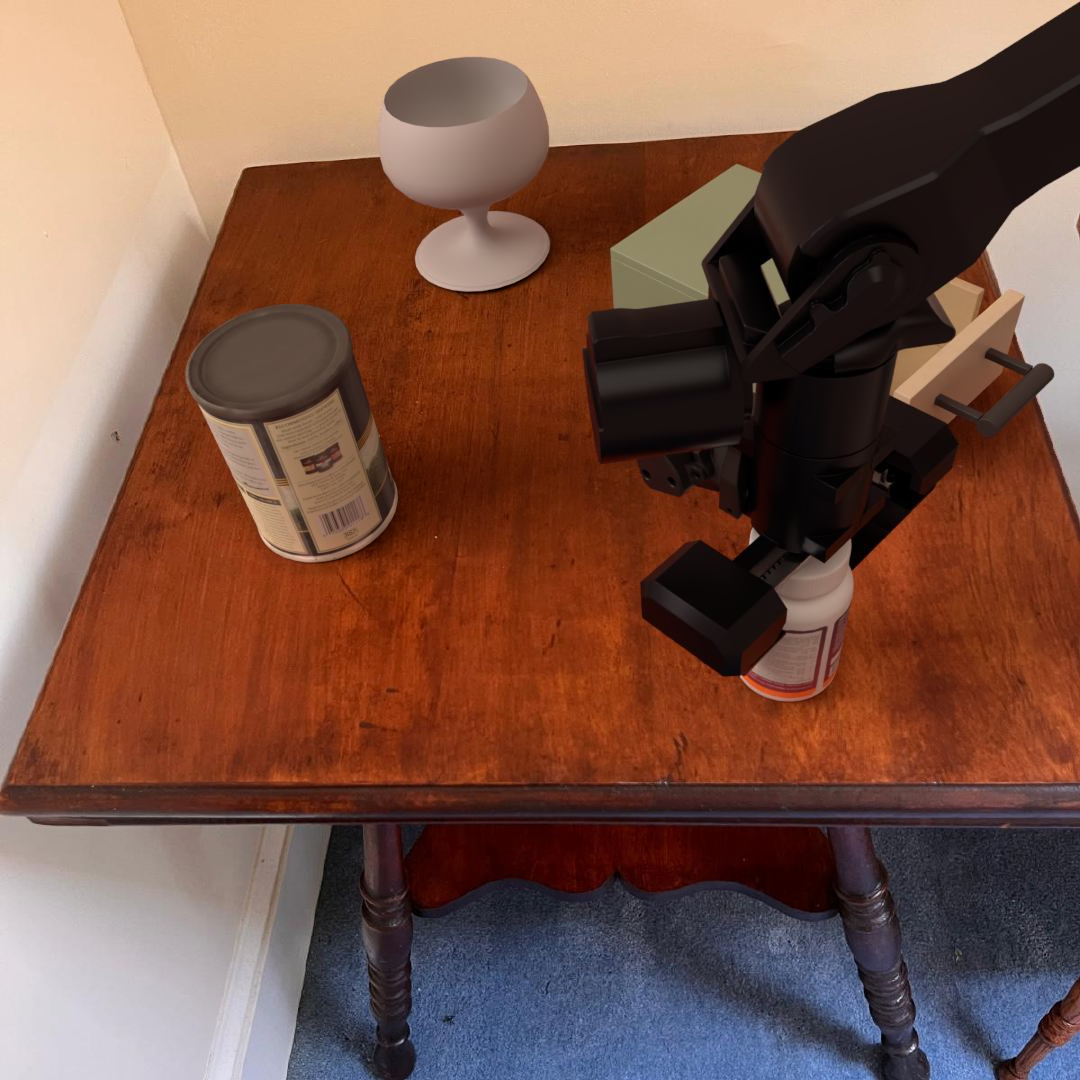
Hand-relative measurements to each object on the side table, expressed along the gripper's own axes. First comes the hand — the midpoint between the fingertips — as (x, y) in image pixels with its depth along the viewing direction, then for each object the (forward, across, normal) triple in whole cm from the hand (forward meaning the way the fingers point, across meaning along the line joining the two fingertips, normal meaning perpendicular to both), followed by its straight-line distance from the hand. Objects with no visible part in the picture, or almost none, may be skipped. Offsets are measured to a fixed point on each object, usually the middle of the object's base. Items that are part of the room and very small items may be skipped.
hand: (790, 619), depth 58 cm
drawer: (+3, -23, -8) cm, 24 cm away
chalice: (+4, -17, -46) cm, 49 cm away
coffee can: (+4, +11, -32) cm, 34 cm away
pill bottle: (+4, 0, 0) cm, 5 cm away
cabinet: (+4, -23, -21) cm, 31 cm away
